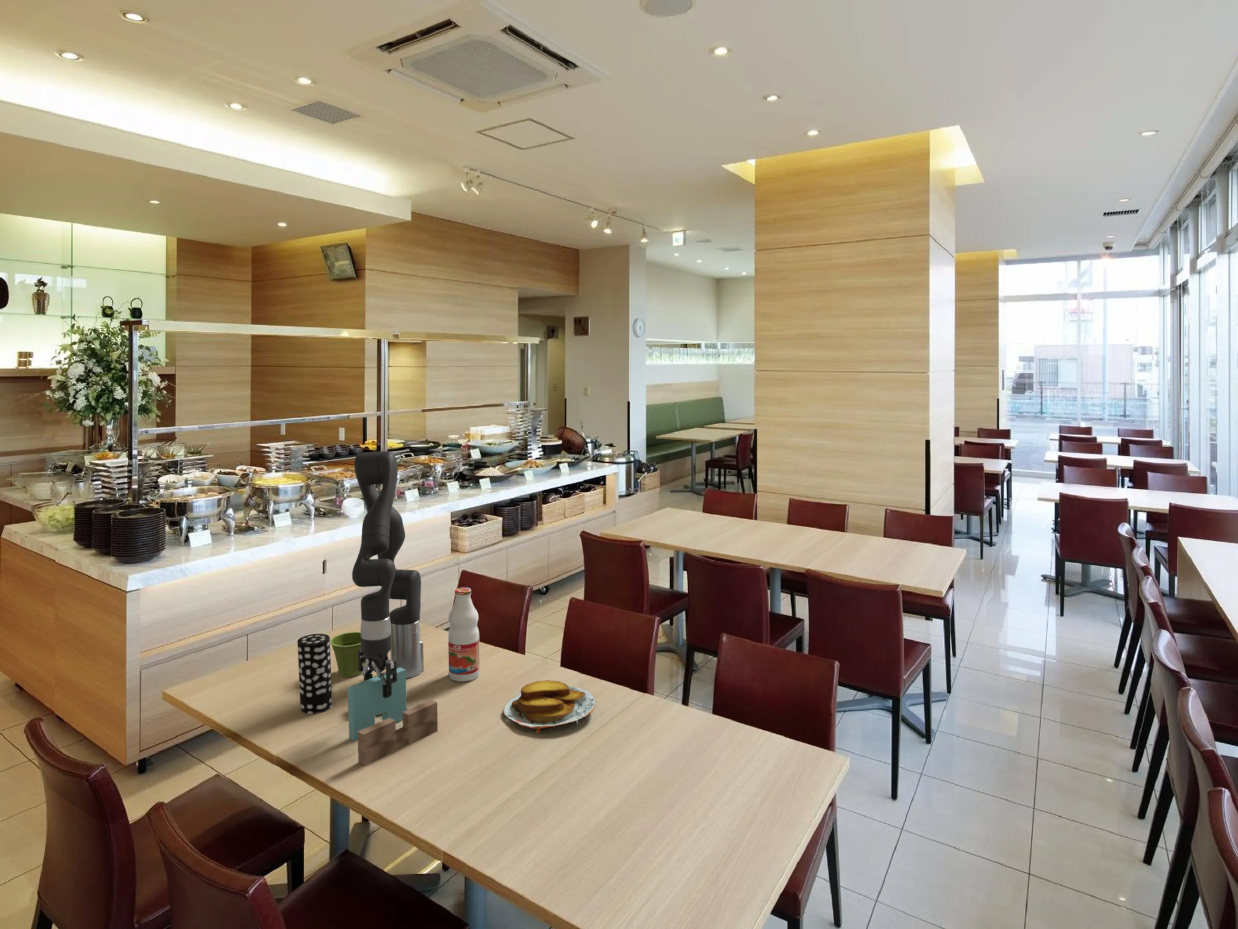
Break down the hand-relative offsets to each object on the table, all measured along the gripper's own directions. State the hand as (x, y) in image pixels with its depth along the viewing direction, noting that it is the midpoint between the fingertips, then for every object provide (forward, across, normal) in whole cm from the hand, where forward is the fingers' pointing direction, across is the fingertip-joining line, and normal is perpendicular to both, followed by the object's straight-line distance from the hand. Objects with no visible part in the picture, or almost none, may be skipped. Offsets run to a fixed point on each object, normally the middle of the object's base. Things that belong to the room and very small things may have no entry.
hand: (377, 692), depth 192 cm
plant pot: (+10, +37, -15) cm, 41 cm away
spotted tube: (+10, +24, +4) cm, 26 cm away
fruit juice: (+10, +8, -36) cm, 38 cm away
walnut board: (+10, -12, +2) cm, 16 cm away
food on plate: (+11, -29, -36) cm, 47 cm away
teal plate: (+10, 0, 0) cm, 10 cm away
